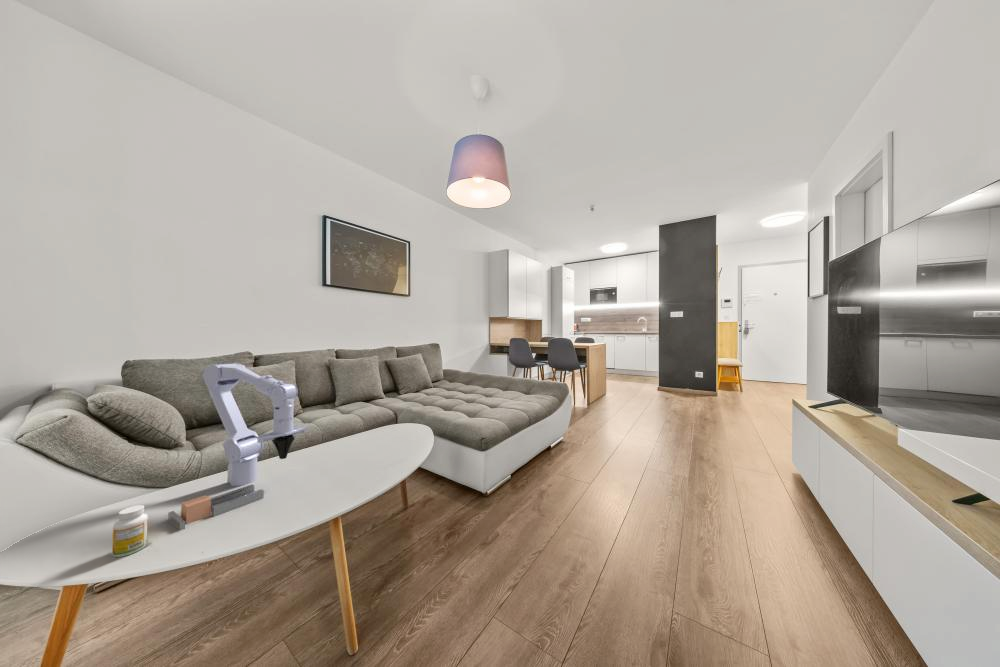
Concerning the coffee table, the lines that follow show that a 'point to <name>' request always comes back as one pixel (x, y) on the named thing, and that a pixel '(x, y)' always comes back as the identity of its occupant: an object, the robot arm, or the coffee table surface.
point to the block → (195, 508)
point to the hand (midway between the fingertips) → (282, 458)
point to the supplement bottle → (130, 531)
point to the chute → (224, 503)
